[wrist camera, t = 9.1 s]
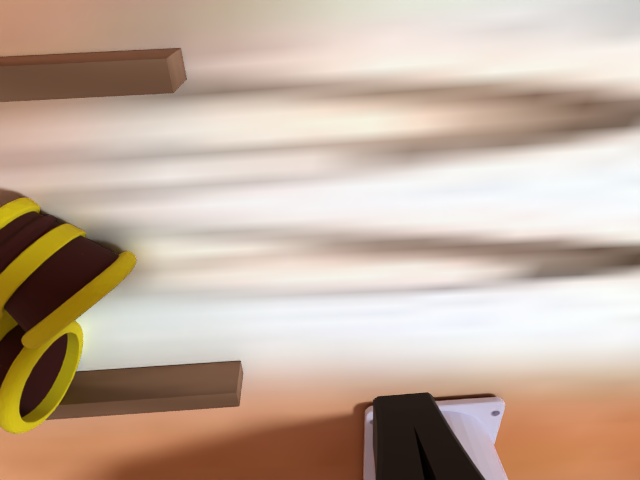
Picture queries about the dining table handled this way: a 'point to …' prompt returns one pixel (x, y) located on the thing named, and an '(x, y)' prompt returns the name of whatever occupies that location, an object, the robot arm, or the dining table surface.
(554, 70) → the dining table surface
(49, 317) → the opera glasses
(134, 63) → the bar
